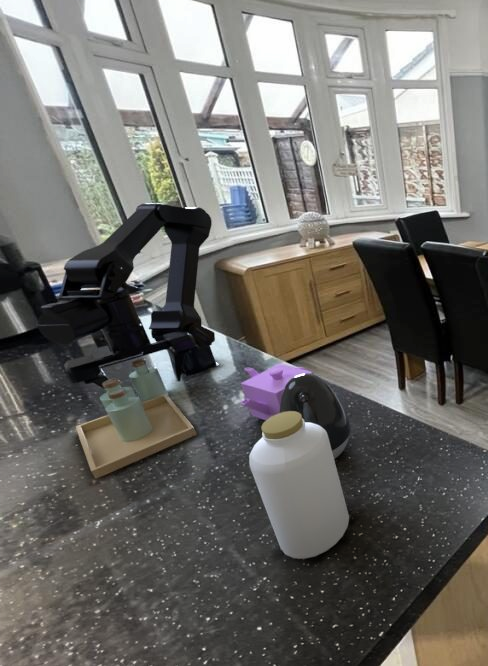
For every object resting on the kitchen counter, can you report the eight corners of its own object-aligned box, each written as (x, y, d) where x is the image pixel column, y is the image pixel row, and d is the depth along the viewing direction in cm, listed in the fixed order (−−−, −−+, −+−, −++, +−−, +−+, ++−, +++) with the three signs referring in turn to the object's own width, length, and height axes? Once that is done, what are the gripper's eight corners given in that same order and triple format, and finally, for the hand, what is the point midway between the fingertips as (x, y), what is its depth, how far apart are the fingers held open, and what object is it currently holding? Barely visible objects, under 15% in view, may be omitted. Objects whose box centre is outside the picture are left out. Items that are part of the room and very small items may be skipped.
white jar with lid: (297, 510, 55) (262, 403, 48) (357, 505, 56) (331, 398, 49) (269, 566, 48) (221, 449, 40) (339, 560, 48) (305, 443, 41)
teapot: (221, 425, 73) (203, 380, 69) (283, 389, 84) (271, 349, 80) (289, 450, 67) (273, 402, 63) (347, 407, 78) (337, 364, 74)
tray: (169, 401, 81) (166, 393, 80) (197, 436, 71) (193, 427, 70) (80, 435, 72) (75, 426, 71) (97, 481, 61) (91, 471, 60)
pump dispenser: (288, 487, 59) (259, 403, 53) (288, 446, 68) (264, 369, 62) (358, 463, 63) (340, 383, 57) (350, 427, 72) (333, 354, 66)
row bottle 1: (143, 412, 77) (123, 372, 73) (148, 420, 74) (129, 380, 71) (113, 423, 74) (91, 382, 70) (117, 432, 71) (95, 390, 68)
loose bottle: (165, 390, 85) (149, 354, 82) (171, 397, 83) (154, 360, 79) (139, 400, 82) (121, 362, 78) (144, 407, 79) (125, 369, 76)
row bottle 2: (150, 423, 74) (130, 382, 70) (156, 432, 71) (135, 390, 68) (118, 435, 71) (96, 393, 67) (123, 445, 68) (101, 401, 65)
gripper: (168, 299, 87) (193, 361, 93) (44, 327, 73) (82, 397, 80) (183, 310, 80) (209, 376, 86) (50, 342, 67) (91, 417, 73)
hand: (151, 390), depth 81 cm, fingers open, 9 cm apart
